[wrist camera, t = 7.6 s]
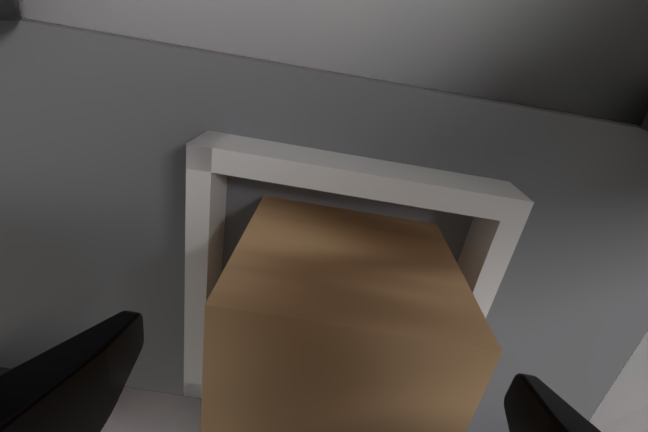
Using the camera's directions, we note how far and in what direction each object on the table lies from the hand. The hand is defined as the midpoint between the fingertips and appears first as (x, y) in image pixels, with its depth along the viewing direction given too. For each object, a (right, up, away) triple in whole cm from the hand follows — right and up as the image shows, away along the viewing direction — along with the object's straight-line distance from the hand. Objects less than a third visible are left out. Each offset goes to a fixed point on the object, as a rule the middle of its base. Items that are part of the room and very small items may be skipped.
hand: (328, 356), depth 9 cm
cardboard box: (0, +1, +3) cm, 3 cm away
